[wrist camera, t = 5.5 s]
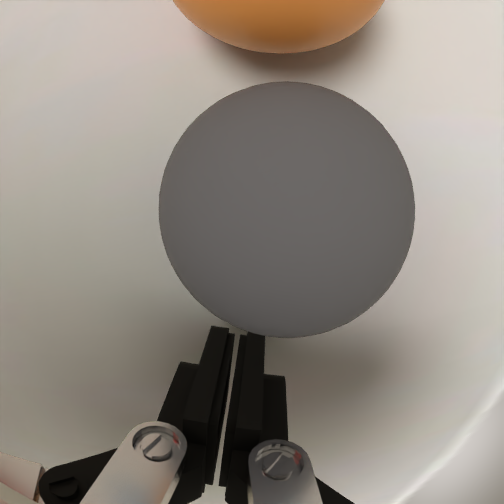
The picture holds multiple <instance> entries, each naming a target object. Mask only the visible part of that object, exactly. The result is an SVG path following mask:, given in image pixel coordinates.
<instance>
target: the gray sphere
mask: <svg viewBox="0 0 504 504" xmlns="http://www.w3.org/2000/svg"><path fill="white" fill-rule="evenodd" d="M414 221H415V201H414V192H413V186H412V181H411V178H410V174H409V171H408V168H407V165H406V163H405V160H404V158H403V156H402V154H401V152H400V150H399V148H398V146H397V144H396V143H395V141H394V140H393V139H392V137H391V136H390V134H389V133H388V132H387V130H386V129H385V128H384V127H383V125H382V124H381V123H380V122H379V121H378V120H377V119H376V118H375V117H374V116H373V115H372V114H371V113H369V112H368V111H367V110H365V109H364V108H363V107H361V106H360V105H358V104H357V103H356V102H354V101H353V100H351V99H349V98H347V97H345V96H343V95H342V94H340V93H338V92H335V91H332V90H330V89H327V88H324V87H321V86H316V85H312V84H307V83H299V82H271V83H265V84H260V85H255V86H252V87H249V88H246V89H243V90H240V91H237V92H235V93H232V94H230V95H229V96H227V97H225V98H223V99H221V100H219V101H218V102H216V103H215V104H214V105H212V106H211V107H209V108H208V109H207V110H206V111H204V112H203V113H202V114H201V115H199V116H198V117H197V118H196V119H195V121H194V122H193V123H192V124H191V125H190V126H189V127H188V128H187V130H186V131H185V132H184V134H183V135H182V136H181V138H180V139H179V141H178V142H177V144H176V146H175V147H174V149H173V151H172V154H171V156H170V158H169V160H168V163H167V165H166V168H165V171H164V175H163V179H162V183H161V189H160V194H159V222H160V229H161V235H162V239H163V243H164V246H165V249H166V252H167V255H168V258H169V260H170V262H171V265H172V266H173V268H174V270H175V272H176V274H177V276H178V277H179V279H180V280H181V282H182V283H183V285H184V286H185V287H186V288H187V290H188V291H189V292H190V293H191V294H192V296H193V297H194V298H195V299H196V300H197V301H198V302H199V303H201V304H202V305H203V306H204V307H205V308H206V309H208V310H209V311H210V312H211V313H213V314H214V315H215V316H217V317H219V318H220V319H222V320H224V321H226V322H228V323H229V324H231V325H233V326H235V327H238V328H240V329H242V330H245V331H248V332H251V333H255V334H259V335H264V336H270V337H280V338H296V337H305V336H310V335H316V334H320V333H324V332H327V331H330V330H333V329H335V328H337V327H340V326H342V325H344V324H346V323H348V322H350V321H352V320H353V319H355V318H356V317H358V316H359V315H361V314H362V313H364V312H365V311H367V310H368V309H369V308H370V307H371V306H373V305H374V304H375V303H376V302H377V301H378V300H379V299H380V298H381V297H382V295H383V294H384V293H385V292H386V291H387V290H388V288H389V287H390V285H391V284H392V283H393V281H394V280H395V278H396V277H397V275H398V273H399V271H400V270H401V268H402V265H403V263H404V261H405V259H406V256H407V253H408V250H409V247H410V244H411V240H412V235H413V229H414Z"/></svg>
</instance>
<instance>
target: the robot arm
mask: <svg viewBox="0 0 504 504" xmlns="http://www.w3.org/2000/svg"><path fill="white" fill-rule="evenodd" d="M234 338H235V334H232V333H229V328H223V327H216V326H211V329H210V332H209V335H208V338H207V341H206V344H205V348H204V351H203V354H202V357H201V360H200V364H199V365H198V364H192V363H187V362H180V364H179V366H178V368H177V371H176V373H175V376H174V378H173V381H172V383H171V386H170V388H169V391H168V394H167V396H166V399H165V401H164V404H163V406H162V409H161V412H160V414H159V417H158V419H157V421H149V422H145V423H141V424H139V425H137V426H135V427H134V428H133V429H132V430H131V431H130V432H129V433H128V434H127V436H126V437H125V439H124V440H123V442H122V443H121V444H120V446H119V447H118V448H116V449H113V450H110V451H107V452H104V453H101V454H98V455H94V456H91V457H88V458H84V459H81V460H78V461H74V462H70V463H67V464H63V465H59V466H56V467H53V468H51V469H48V468H44V467H43V466H42V464H39V463H36V462H32V461H28V460H25V459H21V458H18V457H15V456H11V455H8V454H5V453H2V452H0V504H189V503H190V502H192V501H194V500H196V499H198V498H200V497H201V495H202V493H204V489H205V484H209V485H213V480H214V474H215V468H216V462H217V456H218V450H219V444H220V438H221V432H222V426H223V420H224V414H225V408H226V402H227V395H228V387H229V379H230V370H231V362H232V354H233V346H234ZM264 354H265V336H264V335H259V334H255V333H251V332H248V333H247V335H240V340H239V347H238V353H237V360H236V366H235V373H234V379H233V386H232V392H231V398H230V405H229V411H228V418H227V425H226V432H225V440H224V448H223V455H222V463H221V471H220V479H219V486H223V487H226V492H225V501H226V502H227V503H228V504H354V503H353V502H351V501H350V500H348V499H347V498H345V497H344V496H342V495H341V494H339V493H338V492H336V491H335V490H333V489H332V488H331V487H329V486H328V485H326V484H325V483H323V482H322V481H321V480H319V479H318V478H316V477H315V475H314V472H313V468H312V465H311V461H310V459H309V457H308V455H307V453H306V452H305V451H304V450H303V449H302V448H301V447H300V446H298V445H296V444H295V443H293V442H289V441H288V425H287V403H286V383H285V377H284V376H277V375H268V374H264Z"/></svg>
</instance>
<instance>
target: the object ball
mask: <svg viewBox="0 0 504 504" xmlns="http://www.w3.org/2000/svg"><path fill="white" fill-rule="evenodd" d="M173 2H174V3H175V5H176V6H177V7H178V8H179V10H180V11H181V12H182V13H183V14H184V15H185V16H186V17H187V18H188V19H189V20H190V21H191V22H192V23H193V24H195V25H196V26H197V27H198V28H200V29H201V30H203V31H205V32H206V33H208V34H209V35H211V36H213V37H214V38H217V39H219V40H221V41H223V42H225V43H227V44H230V45H233V46H236V47H239V48H243V49H247V50H251V51H258V52H264V53H279V54H283V53H299V52H306V51H312V50H316V49H320V48H324V47H326V46H329V45H332V44H334V43H337V42H339V41H341V40H343V39H345V38H347V37H349V36H351V35H352V34H353V33H355V32H356V31H358V30H359V29H361V28H362V27H363V26H364V25H365V24H366V23H367V22H368V21H369V20H370V19H371V18H372V17H374V15H375V14H376V13H377V11H378V10H379V9H380V7H381V5H382V4H383V2H384V0H173Z"/></svg>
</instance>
